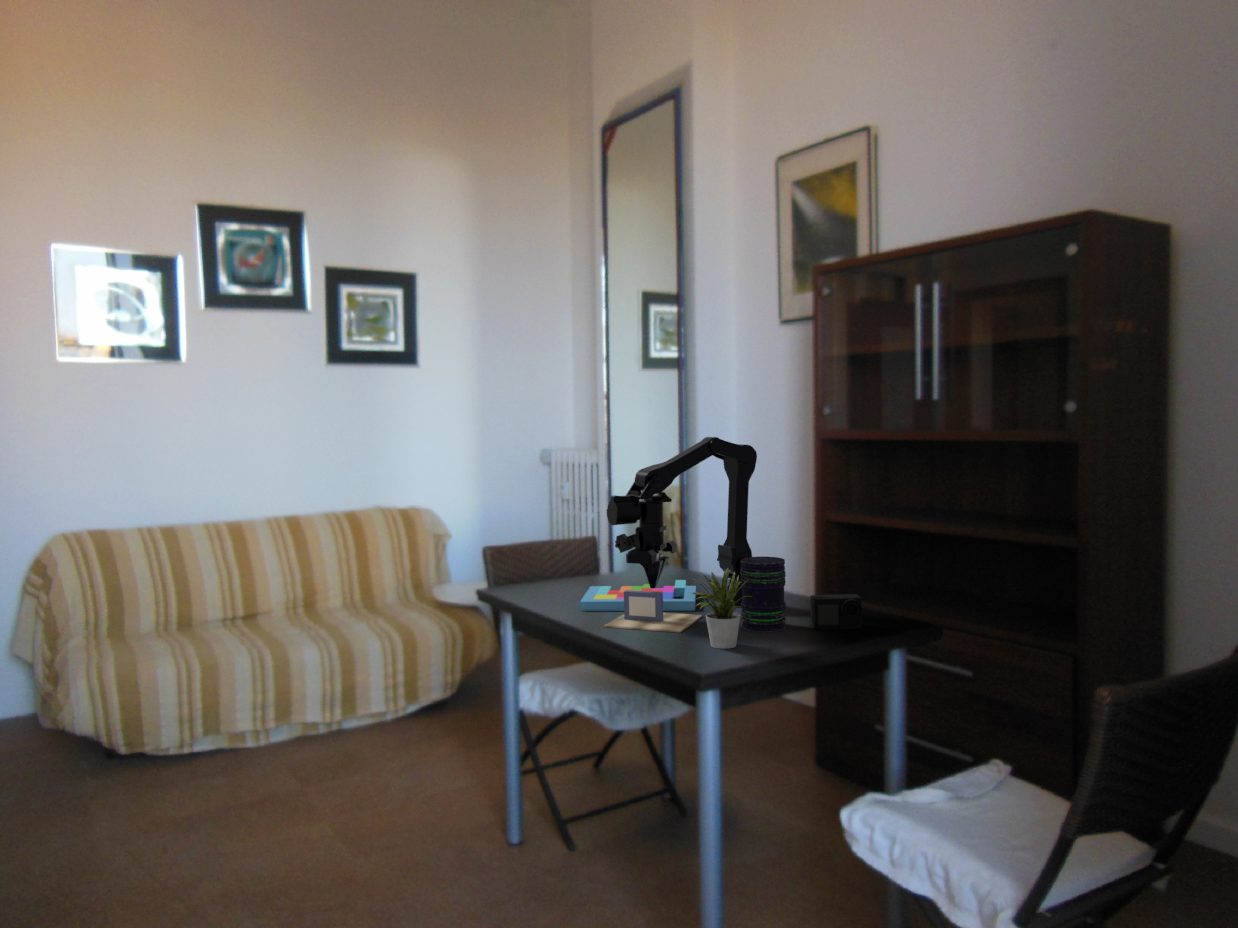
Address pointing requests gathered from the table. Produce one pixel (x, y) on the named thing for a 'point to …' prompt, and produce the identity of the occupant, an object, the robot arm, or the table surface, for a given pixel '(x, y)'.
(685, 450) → the robot arm
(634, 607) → the card deck
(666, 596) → the tetris game
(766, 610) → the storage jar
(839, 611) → the digital camera
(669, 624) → the wooden mat
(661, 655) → the table surface
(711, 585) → the house plant
